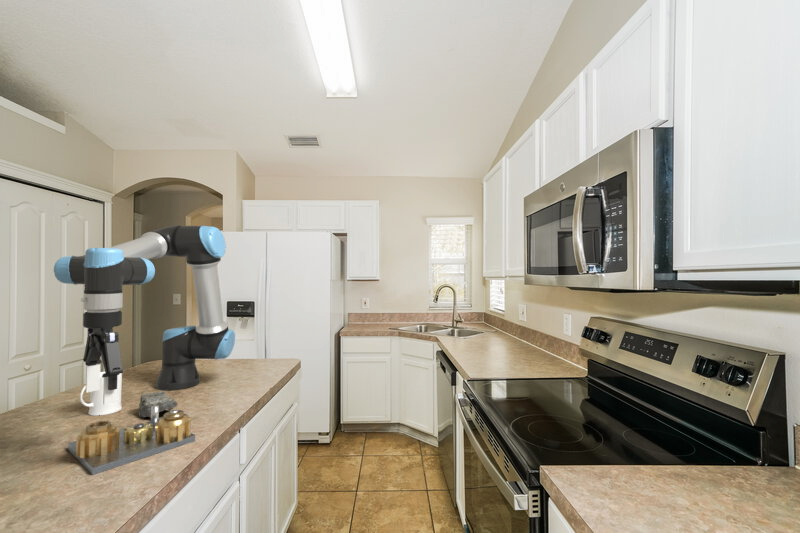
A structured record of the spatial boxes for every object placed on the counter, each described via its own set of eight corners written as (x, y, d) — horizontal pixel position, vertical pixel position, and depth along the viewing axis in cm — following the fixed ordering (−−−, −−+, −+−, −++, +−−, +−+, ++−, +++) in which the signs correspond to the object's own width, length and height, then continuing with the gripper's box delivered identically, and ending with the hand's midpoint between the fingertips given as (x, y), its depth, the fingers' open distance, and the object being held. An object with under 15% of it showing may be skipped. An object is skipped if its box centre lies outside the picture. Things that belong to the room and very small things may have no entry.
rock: (180, 413, 121) (180, 392, 121) (153, 423, 113) (154, 401, 113) (153, 407, 126) (153, 387, 126) (125, 416, 118) (125, 395, 118)
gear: (112, 439, 98) (113, 415, 98) (124, 448, 93) (124, 423, 93) (71, 451, 91) (72, 425, 91) (81, 461, 86) (82, 434, 86)
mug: (85, 421, 113) (87, 381, 114) (70, 416, 117) (71, 377, 117) (127, 408, 124) (128, 372, 124) (111, 405, 127) (113, 369, 128)
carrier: (163, 422, 113) (164, 394, 113) (196, 441, 101) (197, 410, 101) (67, 449, 95) (68, 416, 96) (93, 475, 83) (94, 437, 83)
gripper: (69, 307, 97) (67, 390, 97) (100, 316, 82) (98, 413, 82) (105, 305, 103) (103, 383, 103) (140, 313, 88) (138, 403, 88)
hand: (101, 396), depth 93 cm, fingers open, 13 cm apart
